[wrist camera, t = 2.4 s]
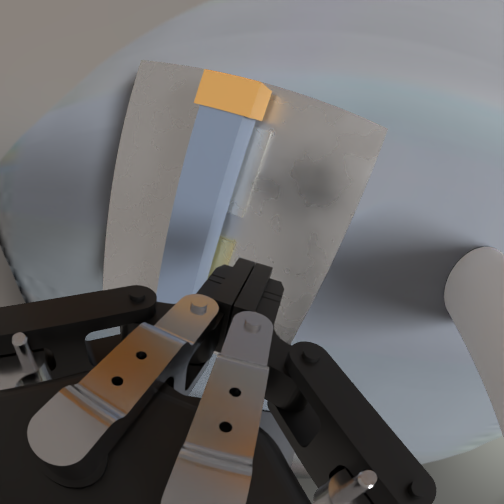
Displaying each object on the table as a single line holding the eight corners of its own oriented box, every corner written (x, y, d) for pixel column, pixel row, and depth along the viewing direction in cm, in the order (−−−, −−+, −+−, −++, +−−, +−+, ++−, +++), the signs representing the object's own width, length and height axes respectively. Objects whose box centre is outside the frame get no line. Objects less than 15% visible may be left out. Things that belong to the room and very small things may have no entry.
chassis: (280, 344, 30) (269, 382, 25) (129, 278, 31) (99, 302, 26) (375, 130, 20) (389, 128, 15) (172, 70, 22) (136, 58, 17)
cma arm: (192, 358, 25) (178, 381, 22) (157, 341, 26) (140, 362, 23) (275, 92, 16) (264, 82, 13) (220, 78, 16) (201, 68, 13)
